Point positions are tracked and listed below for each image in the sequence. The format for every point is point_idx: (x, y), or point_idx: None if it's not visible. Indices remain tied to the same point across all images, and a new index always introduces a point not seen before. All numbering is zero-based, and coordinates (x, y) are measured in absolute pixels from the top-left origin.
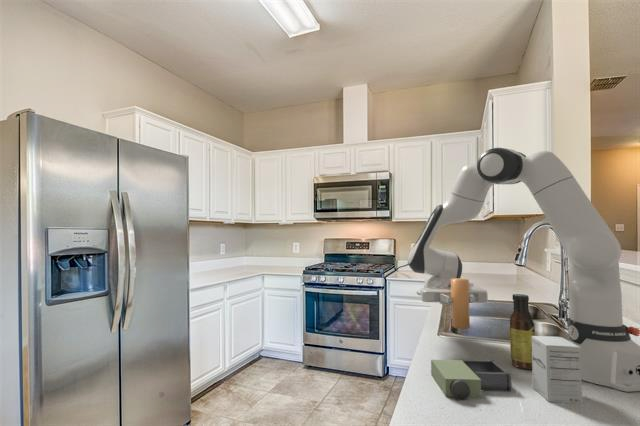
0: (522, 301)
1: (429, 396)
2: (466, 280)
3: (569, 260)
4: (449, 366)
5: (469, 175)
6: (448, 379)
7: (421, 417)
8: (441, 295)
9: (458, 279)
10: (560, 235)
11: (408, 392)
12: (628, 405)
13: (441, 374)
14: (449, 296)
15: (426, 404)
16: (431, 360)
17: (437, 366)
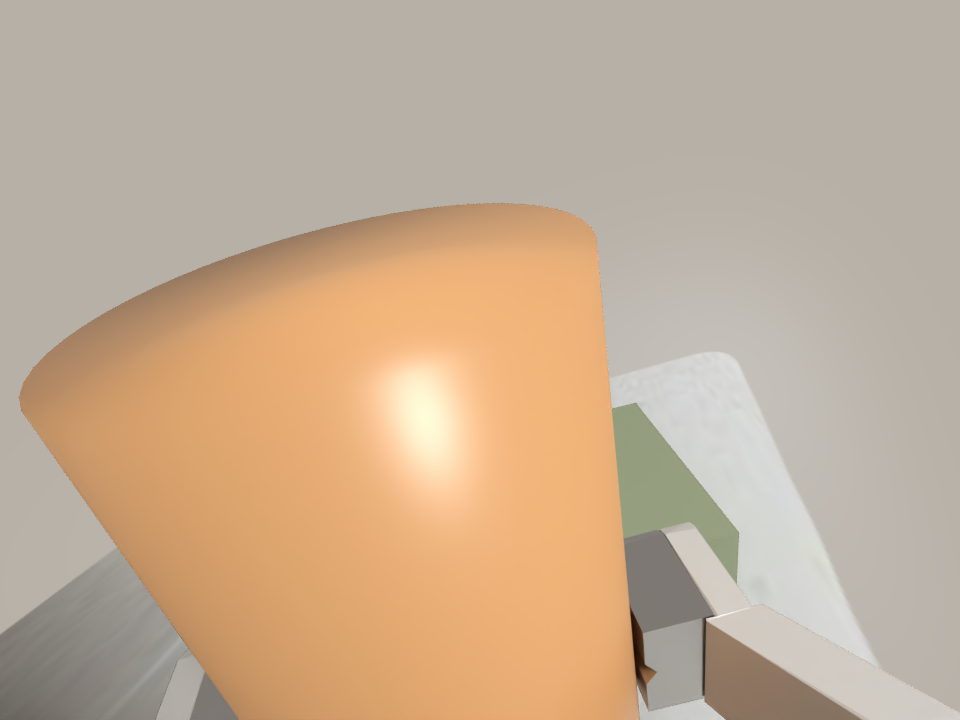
0: None
1: (688, 437)
2: (251, 250)
3: None
4: (632, 488)
5: None
6: (625, 406)
7: (680, 365)
8: (911, 706)
9: (369, 267)
10: None
11: (762, 435)
12: (95, 571)
13: (655, 430)
14: (660, 558)
15: (684, 404)
16: (734, 527)
17: (684, 471)
